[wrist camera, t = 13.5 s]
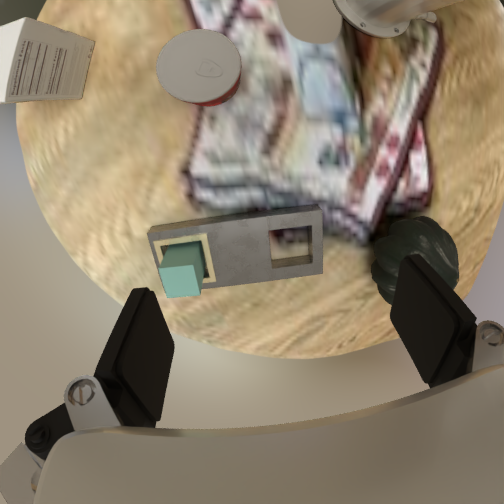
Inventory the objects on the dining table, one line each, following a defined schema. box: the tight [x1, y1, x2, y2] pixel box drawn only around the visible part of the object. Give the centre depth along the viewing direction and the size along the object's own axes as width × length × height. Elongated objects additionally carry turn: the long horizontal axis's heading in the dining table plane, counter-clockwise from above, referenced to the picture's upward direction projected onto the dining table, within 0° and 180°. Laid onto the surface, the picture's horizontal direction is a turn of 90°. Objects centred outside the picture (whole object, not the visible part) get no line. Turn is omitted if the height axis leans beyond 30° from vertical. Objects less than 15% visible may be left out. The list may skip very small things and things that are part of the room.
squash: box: [371, 216, 459, 305], centre depth 38 cm, size 14×15×15 cm
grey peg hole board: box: [147, 204, 323, 291], centre depth 40 cm, size 24×10×3 cm, turn 97°
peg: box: [158, 240, 206, 298], centre depth 38 cm, size 4×4×8 cm
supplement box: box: [0, 17, 95, 104], centre depth 20 cm, size 10×9×17 cm
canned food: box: [156, 29, 241, 106], centre depth 26 cm, size 8×8×11 cm
